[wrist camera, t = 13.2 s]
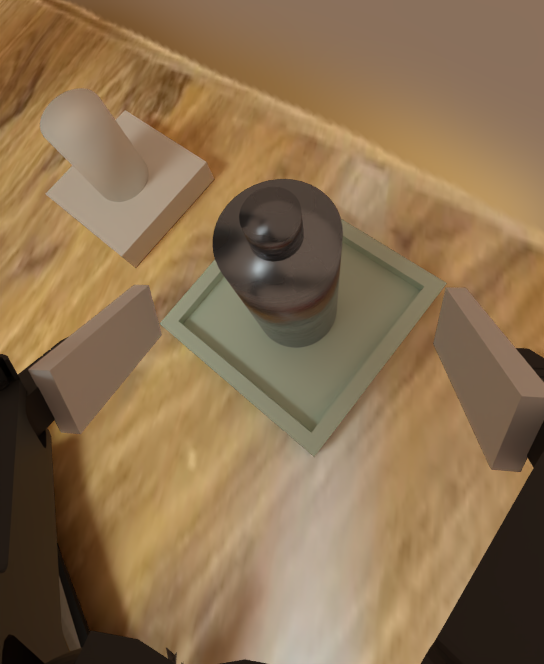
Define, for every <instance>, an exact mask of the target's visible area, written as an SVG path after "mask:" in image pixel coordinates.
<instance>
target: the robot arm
mask: <svg viewBox="0 0 544 664" xmlns="http://www.w3.org/2000/svg"><path fill="white" fill-rule="evenodd" d="M161 335H162V334H161V330H160V326H159V323H158V319H157V315H156V311H155V307H154V303H153V300H152V296H151V292H150V288H149V285H133V286H132V287H131V288H129V289H128V290H127V291H126V292H124V293H123V294H122V295H121V296H119V297H118V298H117V299H116V300H114V301H113V302H112V303H111V304H109V305H108V306H107V307H106V308H104V309H103V310H102V311H101V312H99V313H98V314H97V315H96V316H94V317H93V318H92V319H91V320H89V321H88V322H87V323H86V324H84V325H83V326H82V327H81V328H79V329H78V330H77V331H76V332H74V333H73V334H72V335H71V336H69V337H67V338H65V339H63V340H61V341H60V342H59V343H57V344H56V345H55V346H54V347H52V348H51V350H48V351H47V352H46V353H45V354H43V356H41V357H40V358H38V359H37V360H36V361H35V362H33V363H32V364H31V365H29V366H28V367H27V368H26V369H24V370H23V371H22V372H21V373H19V374H17V373H16V371H15V369H14V367H13V365H12V364H11V362H10V360H9V358H8V356H6V355H3V354H0V664H175V663H174V662H172V661H171V660H169V659H167V658H166V657H164V656H163V655H161V654H160V653H158V652H157V651H155V650H154V649H152V648H151V647H149V646H147V645H146V644H144V643H143V642H141V641H140V640H138V639H133V638H128V637H123V636H117V635H112V634H107V633H101V632H96V631H90V633H89V635H88V637H87V639H86V641H85V643H84V645H83V648H79V649H76V650H73V651H70V652H69V649H68V646H67V644H66V641H65V638H64V635H63V630H62V623H61V605H60V587H59V569H58V551H57V533H56V516H55V498H54V480H53V462H52V444H51V434H50V432H49V430H48V429H47V427H48V426H49V425H50V424H51V423H52V422H53V421H54V420H55V422H56V424H57V426H58V428H59V429H60V431H61V432H63V433H74V434H81V433H82V432H83V430H84V429H85V428H86V427H87V426H88V424H89V423H90V422H91V421H92V419H93V418H94V417H95V416H96V415H97V413H98V412H99V411H100V410H101V408H102V407H103V406H104V405H105V404H106V402H107V401H108V400H109V399H110V398H111V396H112V395H113V394H114V393H115V391H116V390H117V389H118V388H119V387H120V385H121V384H122V383H123V382H124V380H125V379H126V378H127V377H128V376H129V374H130V373H131V372H132V371H133V369H134V368H135V367H136V366H137V365H138V363H139V362H140V361H141V360H142V358H143V357H144V356H145V355H146V354H147V352H148V351H149V350H150V349H151V347H152V346H153V345H154V344H155V343H156V341H157V340H158V339H159V338H160V336H161ZM433 344H434V347H435V349H436V351H437V353H438V355H439V357H440V360H441V362H442V364H443V366H444V368H445V370H446V373H447V375H448V377H449V379H450V381H451V384H452V386H453V388H454V390H455V392H456V394H457V397H458V399H459V401H460V403H461V405H462V407H463V410H464V412H465V414H466V416H467V418H468V420H469V423H470V425H471V427H472V429H473V431H474V433H475V436H476V438H477V440H478V442H479V444H480V447H481V449H482V451H483V453H484V455H485V457H486V460H487V462H488V464H489V466H490V468H491V469H492V470H503V471H515V472H521V470H522V468H523V466H524V464H525V462H526V460H527V458H528V459H529V460H530V462H531V464H532V466H533V467H534V468H533V470H532V472H531V474H530V475H529V477H528V479H527V481H526V483H525V484H524V486H523V488H522V490H521V491H520V493H519V495H518V497H517V498H516V500H515V502H514V504H513V505H512V507H511V509H510V511H509V512H508V514H507V516H506V518H505V519H504V521H503V523H502V525H501V526H500V528H499V530H498V532H497V533H496V535H495V537H494V539H493V540H492V542H491V544H490V546H489V547H488V549H487V551H486V553H485V554H484V556H483V558H482V560H481V561H480V563H479V565H478V567H477V568H476V570H475V572H474V574H473V575H472V577H471V579H470V581H469V582H468V584H467V586H466V588H465V590H464V591H463V593H462V595H461V597H460V598H459V600H458V602H457V604H456V605H455V607H454V609H453V611H452V612H451V614H450V616H449V618H448V619H447V621H446V623H445V625H444V626H443V628H442V630H441V632H440V633H439V635H438V637H437V638H436V640H435V642H434V643H433V645H432V646H431V647H430V649H429V651H428V652H427V654H426V655H425V657H424V659H423V661H422V662H421V664H544V358H543V357H541V356H540V355H538V354H536V353H535V352H533V351H531V350H530V349H524V348H515V347H514V346H513V344H512V343H511V342H510V341H509V340H508V338H507V337H506V336H505V335H504V333H503V332H502V331H501V330H500V329H499V327H498V326H497V325H496V324H495V323H494V321H493V320H492V319H491V318H490V316H489V315H488V314H487V313H486V312H485V310H484V309H483V308H482V307H481V306H480V304H479V303H478V302H477V301H476V299H475V298H474V297H473V296H472V295H471V293H470V292H469V291H468V290H467V288H446V289H445V293H444V298H443V302H442V307H441V311H440V316H439V320H438V325H437V329H436V334H435V338H434V343H433ZM221 664H266V663H261V662H256V661H250V660H239V661H233V662H227V663H221Z"/></svg>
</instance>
